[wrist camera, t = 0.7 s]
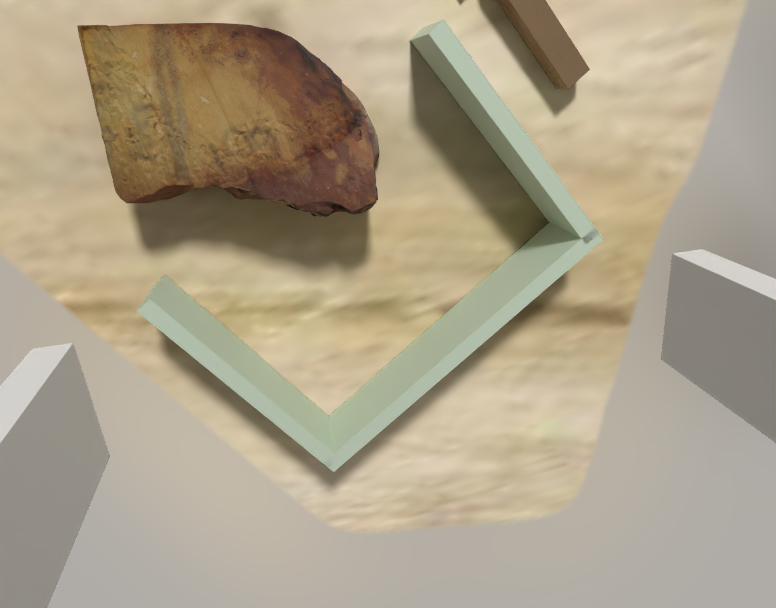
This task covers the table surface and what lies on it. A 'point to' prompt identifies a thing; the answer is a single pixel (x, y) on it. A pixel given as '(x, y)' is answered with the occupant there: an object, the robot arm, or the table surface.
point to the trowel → (546, 40)
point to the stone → (228, 116)
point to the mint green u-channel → (447, 335)
